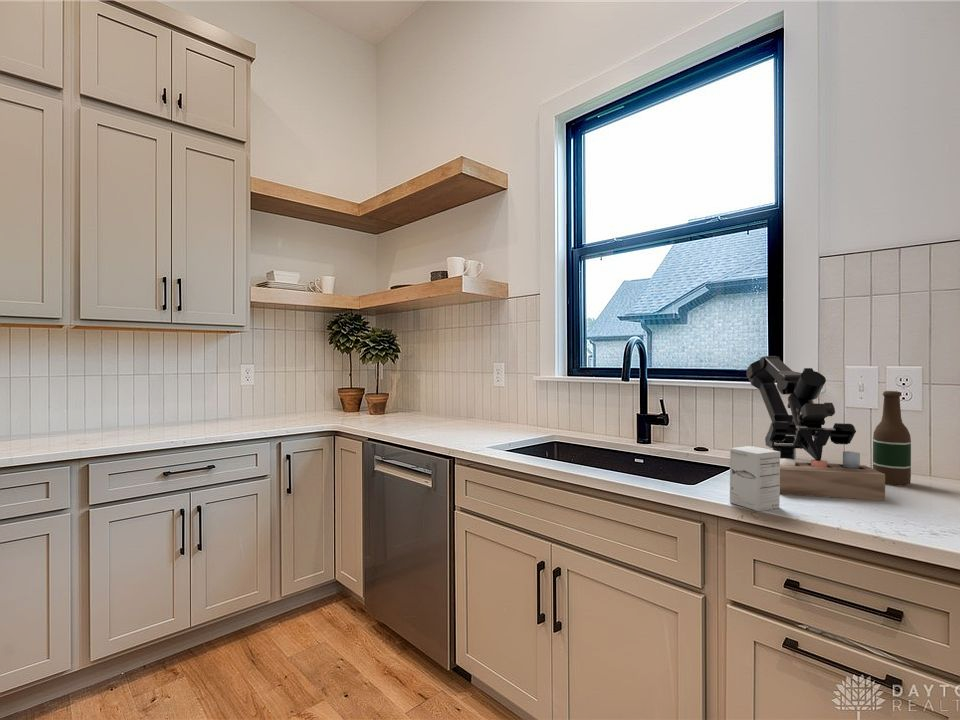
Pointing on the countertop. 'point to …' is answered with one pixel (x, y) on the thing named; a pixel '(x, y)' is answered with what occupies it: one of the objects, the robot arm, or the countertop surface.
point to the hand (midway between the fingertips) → (818, 459)
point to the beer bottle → (892, 443)
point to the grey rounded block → (851, 460)
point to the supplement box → (755, 477)
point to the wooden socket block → (832, 481)
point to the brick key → (818, 463)
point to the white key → (787, 462)
